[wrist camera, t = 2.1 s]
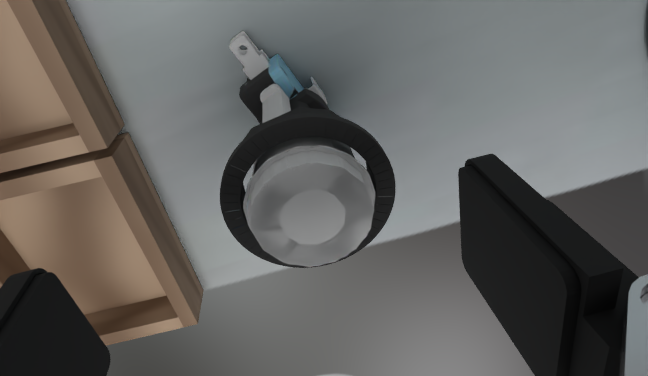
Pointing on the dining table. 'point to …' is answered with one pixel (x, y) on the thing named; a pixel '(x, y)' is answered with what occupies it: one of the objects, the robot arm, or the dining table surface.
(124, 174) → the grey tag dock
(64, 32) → the terracotta tag dock
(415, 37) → the dining table surface
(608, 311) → the robot arm
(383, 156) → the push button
